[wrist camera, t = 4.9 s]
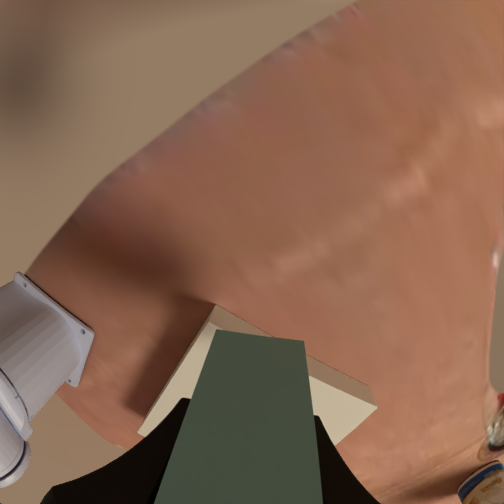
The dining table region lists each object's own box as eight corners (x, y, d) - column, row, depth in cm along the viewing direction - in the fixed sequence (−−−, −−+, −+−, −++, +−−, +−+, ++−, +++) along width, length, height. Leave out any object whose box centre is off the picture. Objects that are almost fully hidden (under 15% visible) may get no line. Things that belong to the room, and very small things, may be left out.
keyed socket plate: (146, 414, 25) (137, 432, 22) (215, 304, 21) (208, 321, 18) (273, 471, 26) (273, 490, 23) (370, 386, 22) (377, 407, 20)
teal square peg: (211, 393, 15) (161, 567, 5) (216, 328, 14) (143, 533, 4) (287, 403, 15) (287, 584, 5) (303, 340, 14) (326, 554, 4)
